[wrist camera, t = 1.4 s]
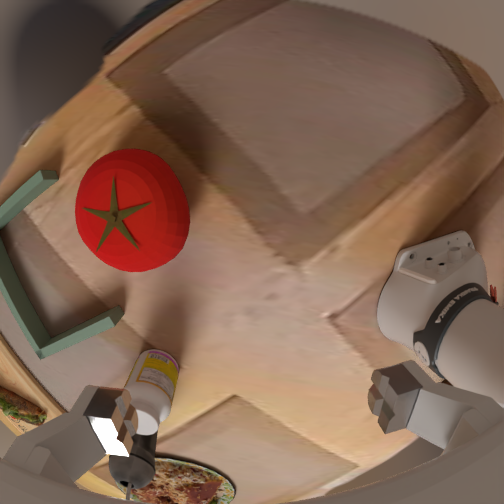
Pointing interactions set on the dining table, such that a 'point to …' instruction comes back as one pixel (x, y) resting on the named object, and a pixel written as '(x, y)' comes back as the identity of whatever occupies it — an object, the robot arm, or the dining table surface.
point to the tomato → (132, 210)
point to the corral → (6, 280)
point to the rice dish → (182, 485)
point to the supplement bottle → (152, 388)
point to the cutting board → (23, 394)
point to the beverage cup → (135, 463)
